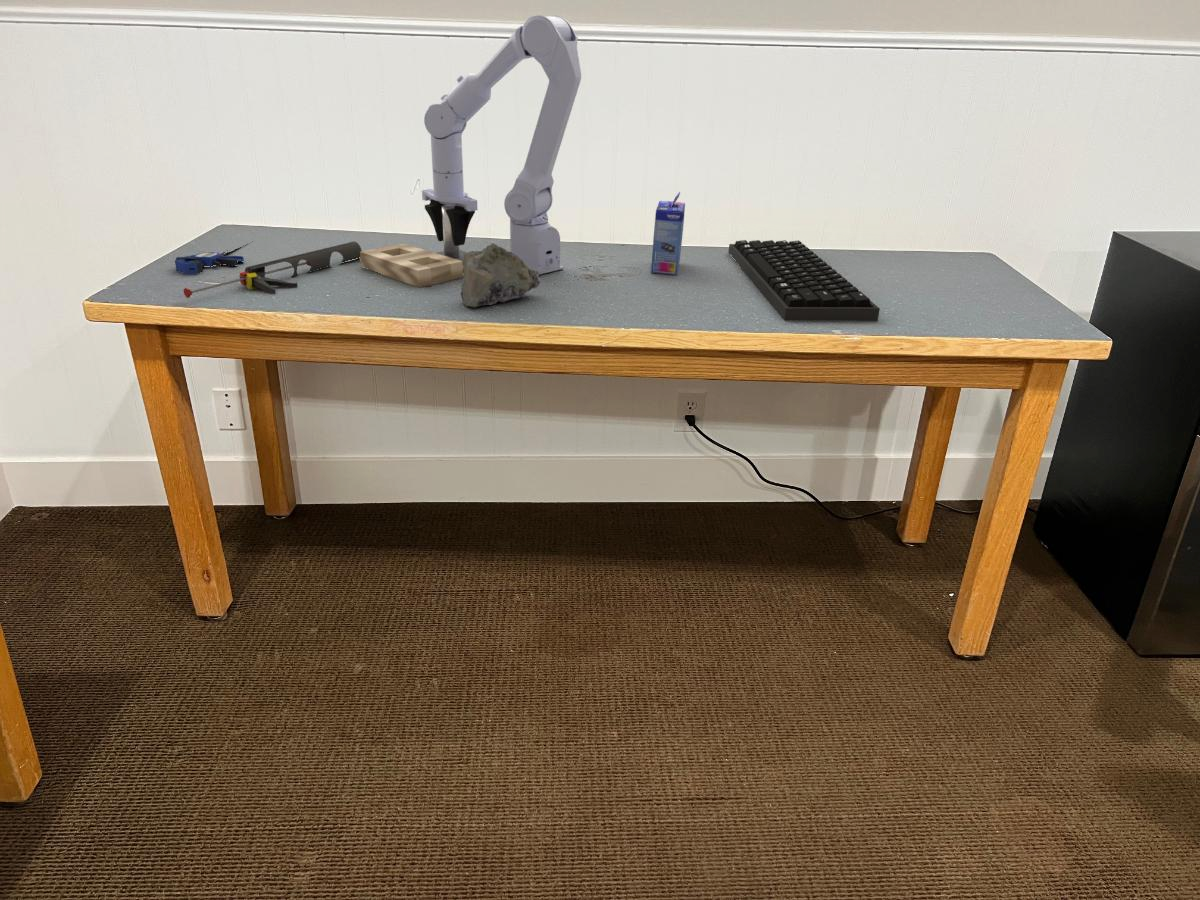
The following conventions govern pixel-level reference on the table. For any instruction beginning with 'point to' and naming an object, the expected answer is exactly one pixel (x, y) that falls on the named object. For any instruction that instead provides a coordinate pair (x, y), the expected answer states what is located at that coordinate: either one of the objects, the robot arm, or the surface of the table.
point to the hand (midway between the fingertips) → (451, 242)
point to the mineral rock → (495, 277)
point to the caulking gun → (315, 259)
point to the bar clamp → (204, 261)
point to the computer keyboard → (801, 282)
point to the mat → (461, 254)
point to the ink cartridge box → (668, 237)
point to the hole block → (412, 264)
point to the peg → (448, 235)
